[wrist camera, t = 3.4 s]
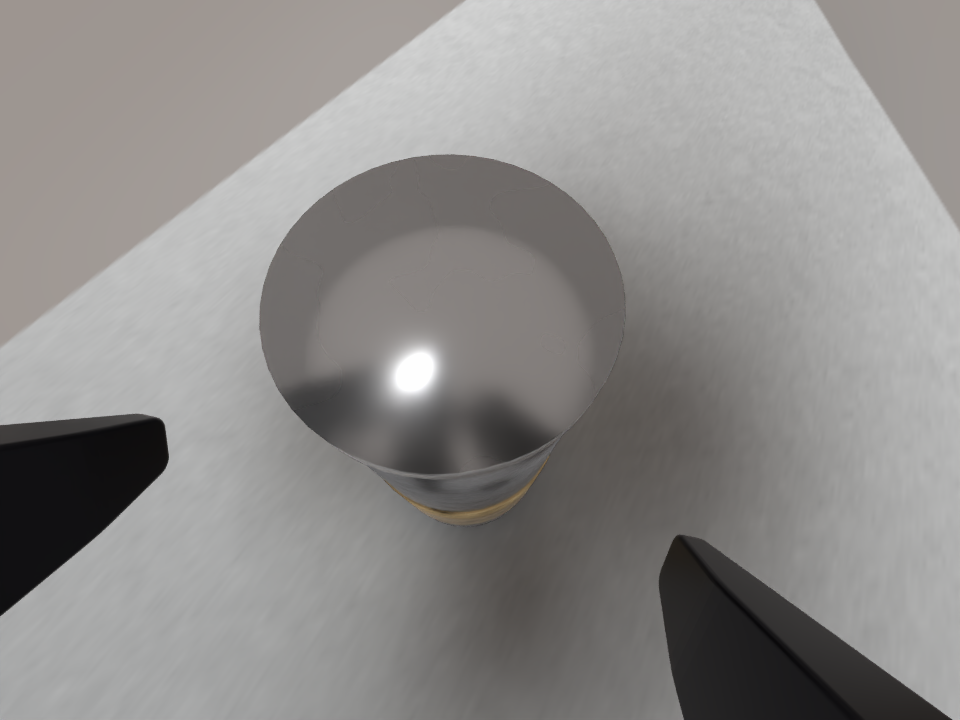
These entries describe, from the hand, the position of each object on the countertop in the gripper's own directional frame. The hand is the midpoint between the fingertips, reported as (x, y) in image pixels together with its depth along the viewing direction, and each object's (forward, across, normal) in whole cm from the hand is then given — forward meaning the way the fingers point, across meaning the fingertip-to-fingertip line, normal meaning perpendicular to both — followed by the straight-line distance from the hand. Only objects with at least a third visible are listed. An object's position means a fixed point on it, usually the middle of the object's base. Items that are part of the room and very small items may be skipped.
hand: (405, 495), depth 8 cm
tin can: (+10, 0, -6) cm, 12 cm away
